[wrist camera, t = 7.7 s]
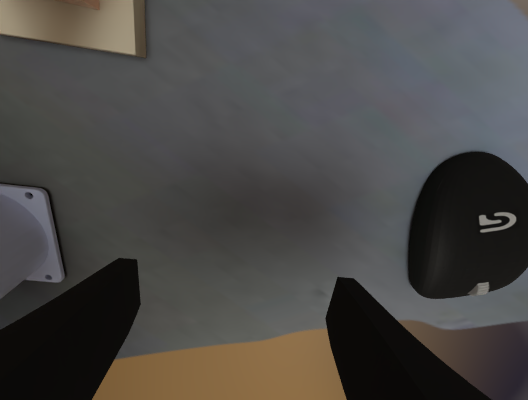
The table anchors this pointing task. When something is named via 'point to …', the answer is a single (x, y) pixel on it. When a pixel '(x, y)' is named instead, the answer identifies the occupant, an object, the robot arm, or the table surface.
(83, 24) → the base slab
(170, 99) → the table surface
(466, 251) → the computer mouse
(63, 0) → the block
